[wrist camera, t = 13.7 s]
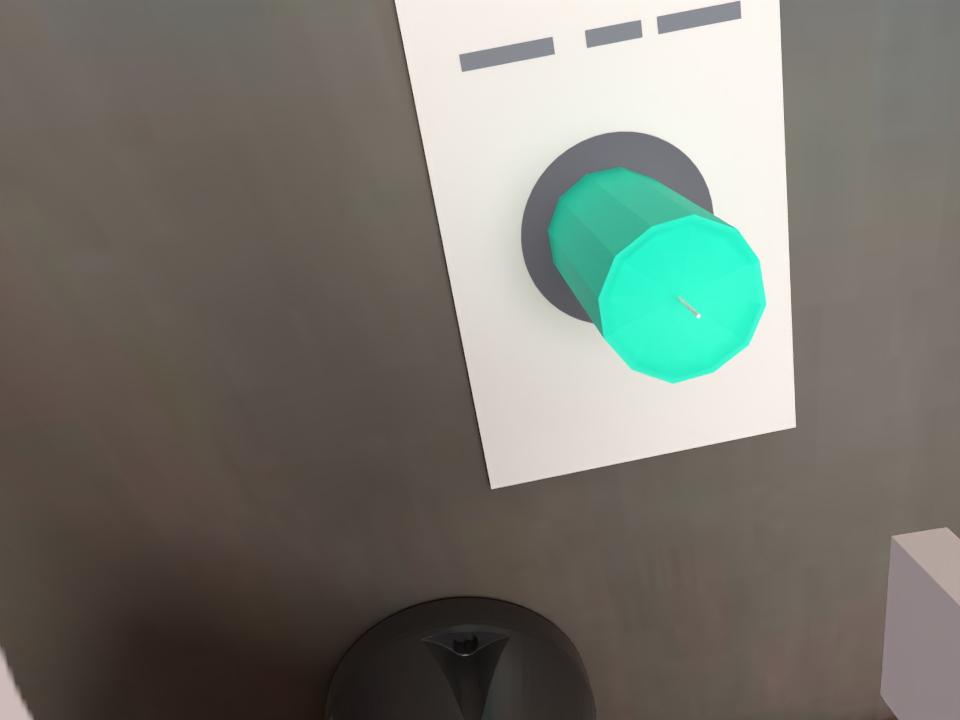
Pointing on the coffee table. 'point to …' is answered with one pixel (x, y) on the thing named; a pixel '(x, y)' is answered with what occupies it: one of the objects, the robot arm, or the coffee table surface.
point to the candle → (657, 274)
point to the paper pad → (561, 164)
